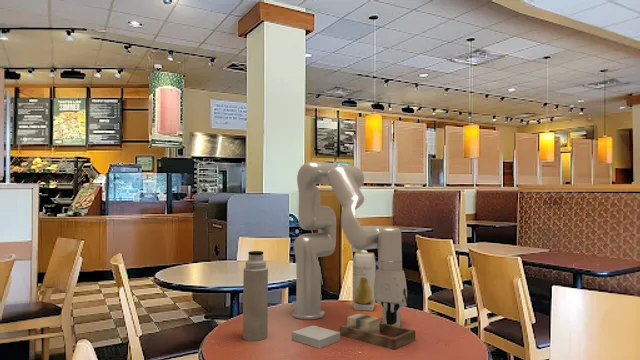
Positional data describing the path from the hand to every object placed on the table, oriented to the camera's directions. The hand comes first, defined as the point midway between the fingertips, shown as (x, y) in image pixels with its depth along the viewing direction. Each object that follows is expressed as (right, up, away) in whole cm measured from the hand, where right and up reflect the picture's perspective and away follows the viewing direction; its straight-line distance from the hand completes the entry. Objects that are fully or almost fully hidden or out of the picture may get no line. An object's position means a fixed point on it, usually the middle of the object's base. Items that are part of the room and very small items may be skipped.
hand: (391, 323), depth 142 cm
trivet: (-24, -6, +1) cm, 25 cm away
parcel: (-8, -6, +7) cm, 13 cm away
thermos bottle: (-44, -6, +4) cm, 45 cm away
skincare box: (+3, -7, +19) cm, 21 cm away
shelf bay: (-5, -6, +4) cm, 8 cm away
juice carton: (-5, -7, +41) cm, 42 cm away
